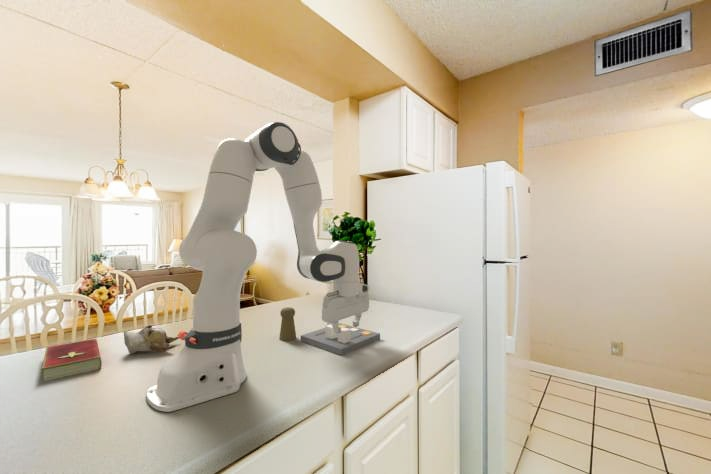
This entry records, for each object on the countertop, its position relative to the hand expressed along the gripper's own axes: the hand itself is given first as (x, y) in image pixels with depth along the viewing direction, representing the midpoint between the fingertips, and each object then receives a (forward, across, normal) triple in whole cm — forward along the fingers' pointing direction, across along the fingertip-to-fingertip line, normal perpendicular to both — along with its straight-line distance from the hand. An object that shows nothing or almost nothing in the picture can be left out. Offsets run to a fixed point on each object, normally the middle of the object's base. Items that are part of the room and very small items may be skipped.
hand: (346, 329), depth 106 cm
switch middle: (+3, -2, +6) cm, 7 cm away
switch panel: (+6, +3, +6) cm, 9 cm away
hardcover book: (+5, -62, +52) cm, 82 cm away
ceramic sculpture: (+5, -44, +46) cm, 64 cm away
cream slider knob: (+3, -2, 0) cm, 4 cm away
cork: (+6, -8, +22) cm, 24 cm away
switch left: (+4, +5, +12) cm, 13 cm away
